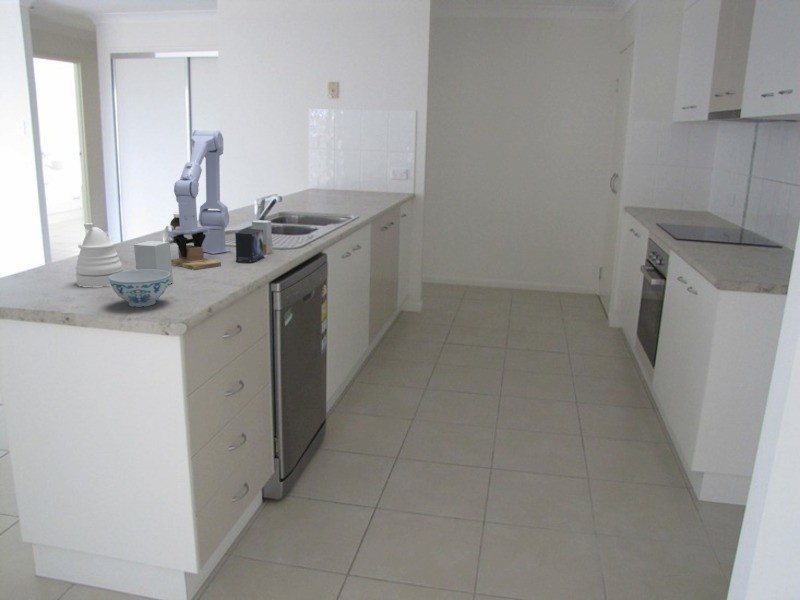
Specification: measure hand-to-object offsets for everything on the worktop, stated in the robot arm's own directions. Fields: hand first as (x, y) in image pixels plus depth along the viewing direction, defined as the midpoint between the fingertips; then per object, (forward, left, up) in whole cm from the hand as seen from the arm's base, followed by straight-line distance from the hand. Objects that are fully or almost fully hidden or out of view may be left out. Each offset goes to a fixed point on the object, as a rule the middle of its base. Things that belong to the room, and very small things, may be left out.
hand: (190, 255), depth 226 cm
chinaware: (+37, -37, -3) cm, 53 cm away
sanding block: (0, 0, -2) cm, 2 cm away
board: (+2, 0, -3) cm, 3 cm away
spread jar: (-41, +19, -3) cm, 45 cm away
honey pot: (+6, -34, -3) cm, 35 cm away
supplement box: (+20, -24, -3) cm, 31 cm away
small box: (+9, +18, -3) cm, 20 cm away
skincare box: (+1, +29, -3) cm, 29 cm away
